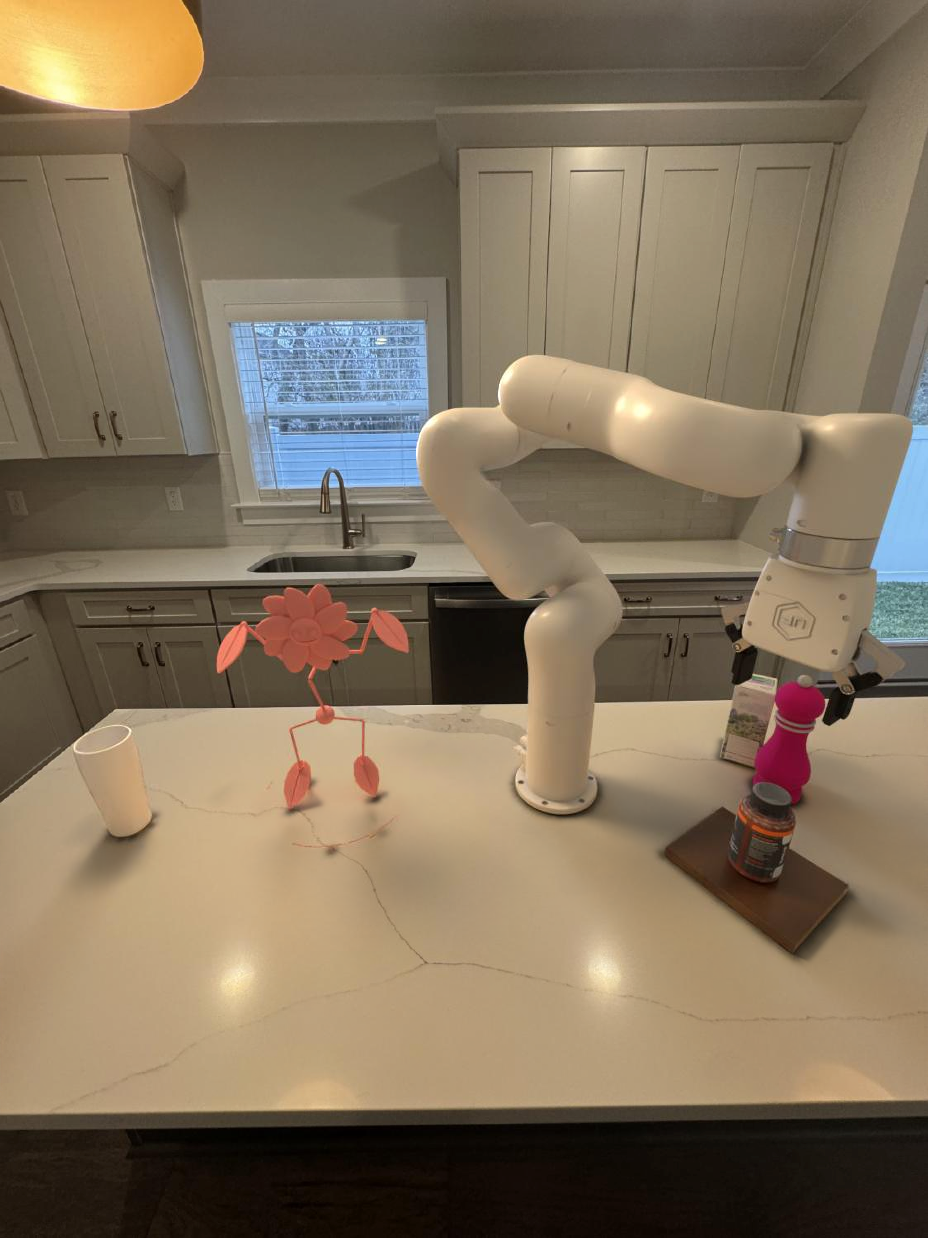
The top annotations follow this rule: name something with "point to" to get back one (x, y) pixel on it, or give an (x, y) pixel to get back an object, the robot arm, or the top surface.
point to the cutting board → (771, 906)
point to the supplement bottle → (762, 833)
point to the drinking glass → (114, 778)
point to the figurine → (313, 662)
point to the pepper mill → (790, 737)
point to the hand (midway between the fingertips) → (783, 699)
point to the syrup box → (749, 719)
